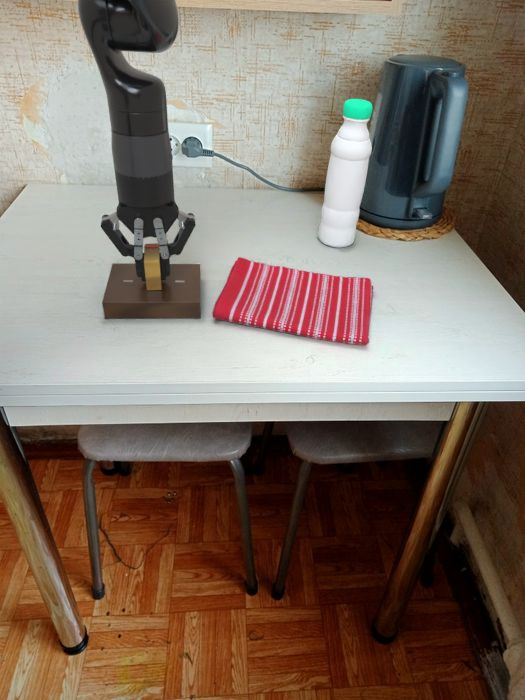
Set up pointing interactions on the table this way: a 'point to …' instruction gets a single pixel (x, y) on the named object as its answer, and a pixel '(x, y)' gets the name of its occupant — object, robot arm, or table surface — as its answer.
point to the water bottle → (346, 175)
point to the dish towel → (297, 302)
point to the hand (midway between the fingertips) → (154, 277)
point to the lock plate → (153, 294)
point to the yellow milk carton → (152, 266)
